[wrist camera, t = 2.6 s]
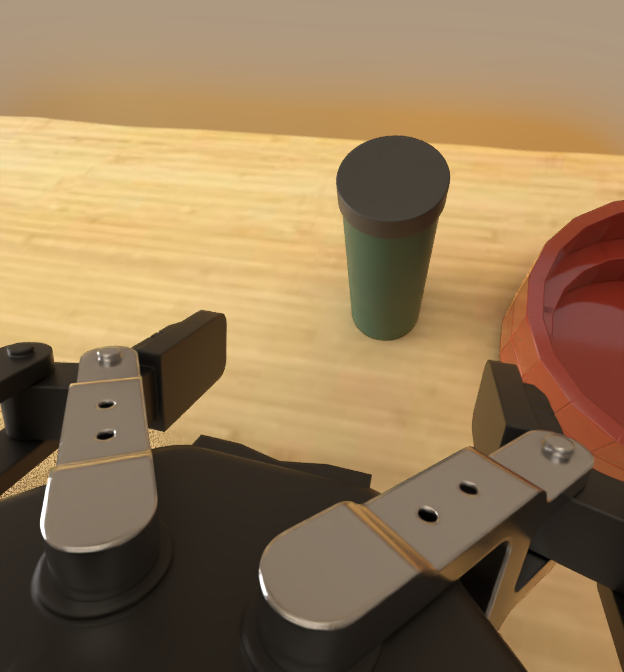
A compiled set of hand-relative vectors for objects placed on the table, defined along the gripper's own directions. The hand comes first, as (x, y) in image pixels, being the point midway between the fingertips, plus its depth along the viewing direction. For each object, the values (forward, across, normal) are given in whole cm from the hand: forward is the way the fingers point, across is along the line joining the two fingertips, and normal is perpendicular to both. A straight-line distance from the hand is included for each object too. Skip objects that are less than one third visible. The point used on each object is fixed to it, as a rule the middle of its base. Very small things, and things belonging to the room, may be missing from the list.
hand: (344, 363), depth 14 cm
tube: (+16, 0, +3) cm, 17 cm away
